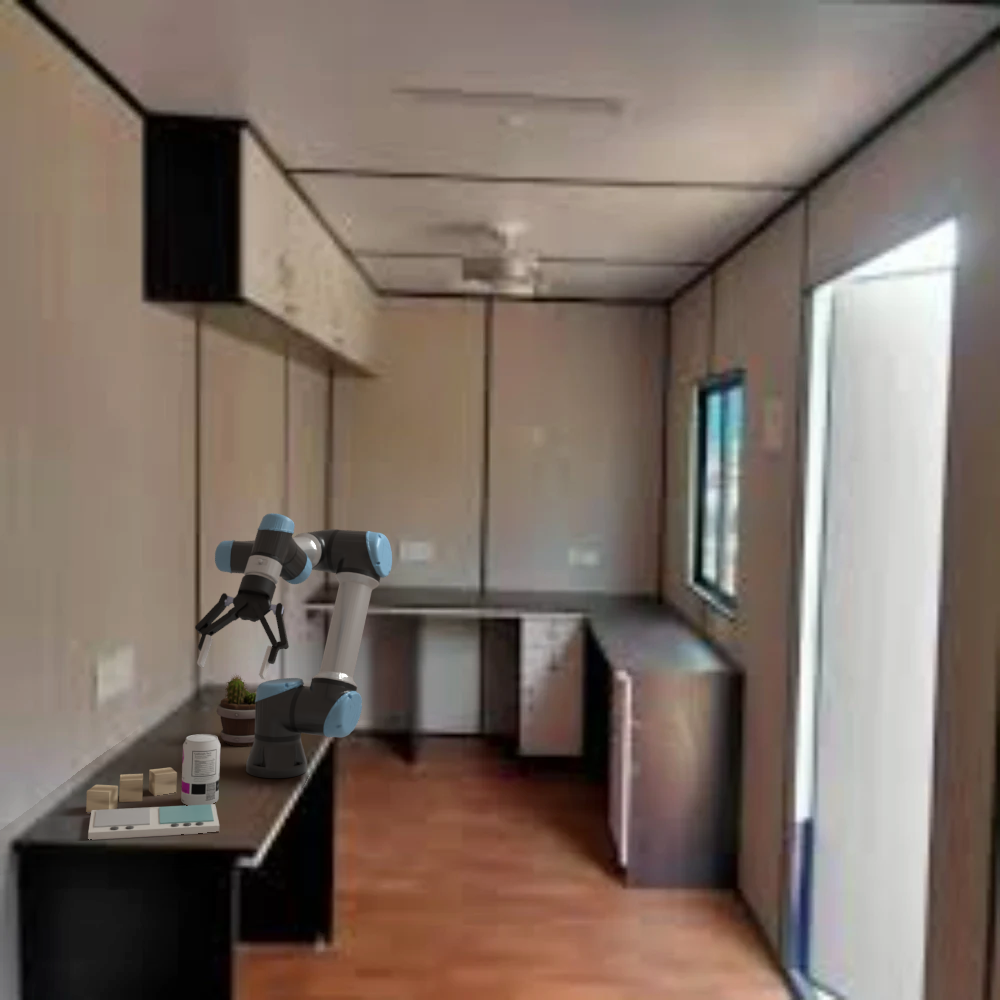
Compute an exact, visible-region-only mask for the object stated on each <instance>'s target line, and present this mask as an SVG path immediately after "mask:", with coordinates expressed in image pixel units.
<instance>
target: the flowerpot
mask: <svg viewBox="0 0 1000 1000" xmlns="http://www.w3.org/2000/svg"><path fill="white" fill-rule="evenodd" d="M225 683H226V684H225V685H226V686H225V689H224V690H225V692H226V694H224V696H225V697H224V698H222V699H221V700H220V703H219V704H217V706H216V714H217V715H218V716H220V722H221V726H222V730H221V731H220V737H221V739H222V740H223V741H224V743H225V744H226V743H227V745H229V744H230V746H232V745H233V747H246V746H248V747H252V746H253V743H254V738H255V705H256V702H255V700H256V692H252V690H251V689H249V688H248V687H247V681H243V679H242V676H241V675H240V674H235V675H232V676H231V677H230V680H228V681H225ZM248 689H249V690H248Z"/></svg>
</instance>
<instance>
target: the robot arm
mask: <svg viewBox="0 0 1000 1000" xmlns="http://www.w3.org/2000/svg"><path fill="white" fill-rule="evenodd" d="M295 528H296V527H295V523H294V521H293V519H291V518H289V517H288V516H286V515H283V514H281V513H274V512H273V513H267V514H264V515H263V517H262V519H261V522H260V524H259V527H257V531H256V536H255V539H254V540H234V539H231V540H222V541H221V542H220V543H219V544H218V545H217V546H216V548H215V552H214V563H215V567H216V568H217V570H219V571H220V572H223V573H230V574H243V575H244V576H242V578H241V581H240V584H239V588H238V590H237V594H236V596H234V597H233V596H230V595H228V594H227V593H225V592H223V593H222V594H221V595H220V598H219V599H218V601H217V603H216V604H215V605H213V607H212V608H211V609H210V610H209V611H208V612H207V613H206V614H205V615H204V616H203V617H202V618H201V620H200V621H199V622H197V623H196V625H194V626H195V627H194V628H195V630H196V631H197V633H198V634H200V635H201V637H200V640H199V642H198V646H197V648H198V650H199V651H200V653H199V656H198V658H197V661H196V664H197V665H198V667H200V668H202V669H204V667H205V665H206V662H207V658H208V655H209V653H210V649H211V645H212V643H213V640H214V639H213V637H212V636H214V635H215V634H217V633H218V632H219V631H221V630H223V628H225V627H226V626H229V624H231V623H232V622H234V621H237V620H239V619H241V621H250V622H254V623H256V622H258V621H260V624H261V625H262V626H261V627H262V628H263V629H264V632H265V634H266V636H267V637H268V640H269V642H270V644H271V645H267V648H266V651H265V654H264V657H263V660H262V663H261V667H260V670H259V673H258V676H259V677H260V679H261V680H266V678H267V674H268V671H269V668H270V664H271V665H274V664H275V663H276V660H277V656H278V653H279V651H280V650H283V649H284V650H287V649H289V647H290V646H289V641H288V636H287V631H286V626H285V621H284V613H285V608H284V606H283V604H282V603H281V602H278V603H277V604H272V601H273V599H274V595H275V592H276V588H277V586H276V585H277V584H278V582H279V580H280V579H279V578H280V577H281V579H283V581H284V582H287V583H288V584H291V585H299V584H301V583H304V582H306V580H307V579H308V578H309V577H310V575H311V574H312V571H319V572H325V573H329V574H335V579H336V580H337V582H338V584H339V585H338V590H337V594H336V599H335V602H334V605H333V606H334V607H333V611H332V616H331V620H330V623H329V624H330V625H329V627H328V628H329V629H328V633H327V637H326V643H325V647H324V651H323V656H322V660H321V665H320V670H319V672H318V673H317V674H316V675H314V676H313V677H312V678H311V680H310V684H309V686H307V685H305V683H304V680H303V678H300V677H299V678H298V677H286V678H277V679H271V680H267V681H262V682H260V683H259V684H258V686H257V688H256V691H255V693H256V700H255V702H256V705H255V738H254V743H253V746H251V749H250V751H249V754H248V757H247V760H246V768H245V771H246V773H247V774H249V775H251V776H253V777H257V778H258V777H259V778H264V779H287V778H294V777H298V776H301V775H303V774H305V773H306V772H307V770H308V769H307V768H308V760H307V757H306V753H305V749H304V746H303V743H302V734H305V735H306V734H307V735H314V736H321V737H327V738H344V737H347V736H349V735H350V734H351V733H352V732H353V731H354V730H355V728H356V726H357V725H358V723H359V722H360V720H359V719H360V717H361V715H362V714H361V713H362V709H363V705H362V704H363V699H362V696H361V694H360V692H357V689H358V685H357V684H356V682H355V681H354V676H355V671H356V666H357V661H358V656H359V652H360V648H361V642H362V640H363V639H362V638H363V633H364V628H365V624H366V620H367V619H366V618H367V614H368V610H369V605H370V601H371V596H372V591H373V590H375V589H377V588H378V587H379V586H380V581H381V579H384V578H387V577H388V576H389V575H390V573H391V570H392V565H393V553H392V547H391V544H390V541H389V539H388V537H387V536H386V535H385V534H383V532H375V531H371V530H368V531H366V530H365V531H363V530H348V529H335V528H333V529H331V528H330V529H323V530H315V531H309V532H301V533H298V534H296V535H294V533H295V532H294V531H295ZM293 535H294V536H293ZM231 604H233V607H232V608H230V609H229V610H228V611H227V612H226V613H225V614H223V615H222V616H221V617H219V616H220V615H221V614H222V613H223V612H224V611H225V610H226V608H227V607H230V605H231ZM271 611H272V613H273V615H275V620H276V624H277V631H278V634H279V641H277V639H276V637H275V635H274V634H275V633H274V632H273V630H272V628H271V627H270V624H269V623H268V620H267V618H266V615H268V614H269V613H270V612H271ZM217 618H218V619H217Z"/></svg>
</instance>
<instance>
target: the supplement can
mask: <svg viewBox="0 0 1000 1000" xmlns="http://www.w3.org/2000/svg"><path fill="white" fill-rule="evenodd" d="M181 760H182V762H181V763H182V766H181V772H182V773H181V789H180V790H181V793H180V794H181V795H180V801H181V803H183V805H184V804H186V805H209V804H213V803H215V802H216V803H217V802H218V801H219V799H220V796H219V795H220V794H219V793H220V791H219V789H220V766H221V763H220V762H221V743H220V740H219V738H218V736H217V735H215V734H212V733H211V734H209V733H198V734H192V735H188V736H186V737H185V741H184V742H183V744H182V759H181ZM216 803H215V804H216ZM186 805H185V806H186Z"/></svg>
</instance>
